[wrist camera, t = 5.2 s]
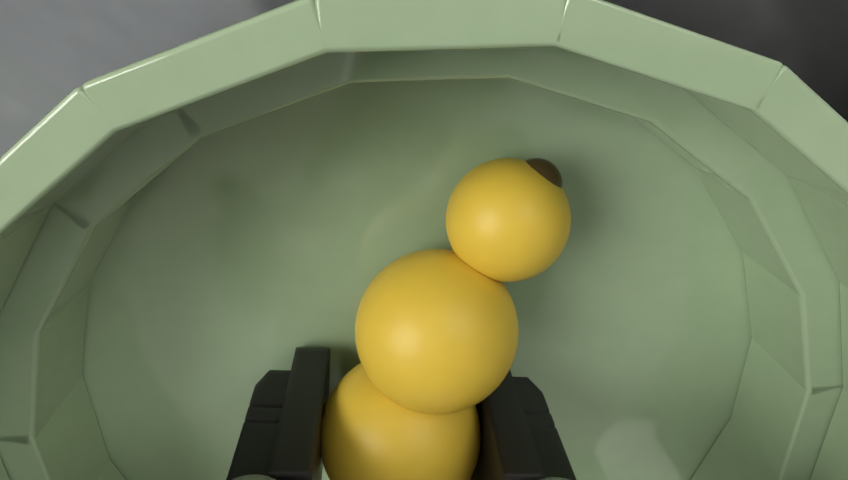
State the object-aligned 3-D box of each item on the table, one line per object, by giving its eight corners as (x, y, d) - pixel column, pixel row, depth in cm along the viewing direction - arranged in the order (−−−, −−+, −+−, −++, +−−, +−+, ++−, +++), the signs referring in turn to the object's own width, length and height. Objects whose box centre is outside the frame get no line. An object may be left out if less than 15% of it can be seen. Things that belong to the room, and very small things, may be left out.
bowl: (285, -262, 9) (198, -478, 4) (932, 285, 14) (1171, 417, 9) (-71, 473, 14) (-259, 680, 10) (490, 672, 19) (520, 865, 15)
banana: (332, 128, 10) (311, 185, 8) (562, 145, 11) (626, 205, 8) (323, 558, 15) (308, 695, 12) (484, 560, 16) (506, 693, 13)
